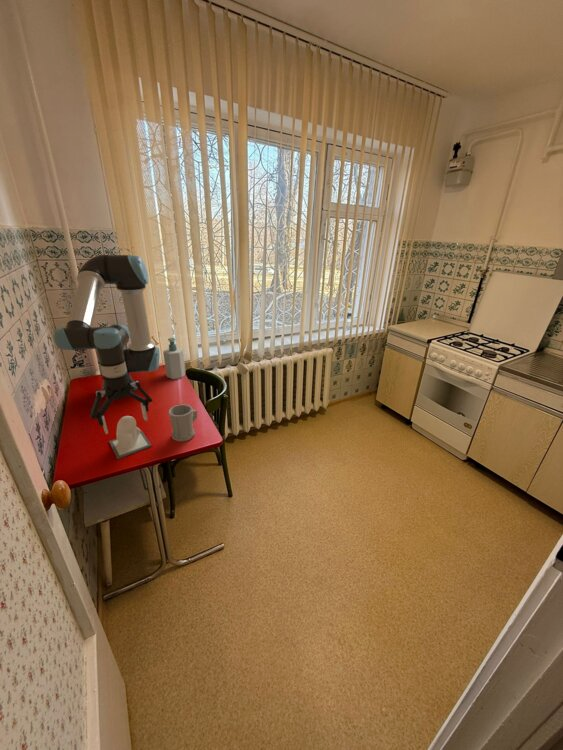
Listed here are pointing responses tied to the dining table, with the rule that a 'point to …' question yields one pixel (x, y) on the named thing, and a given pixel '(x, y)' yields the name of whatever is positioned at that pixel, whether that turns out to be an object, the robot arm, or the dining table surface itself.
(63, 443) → the dining table surface
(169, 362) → the soap bottle
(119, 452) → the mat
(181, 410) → the cup
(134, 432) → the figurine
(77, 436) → the dining table surface
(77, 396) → the dining table surface
